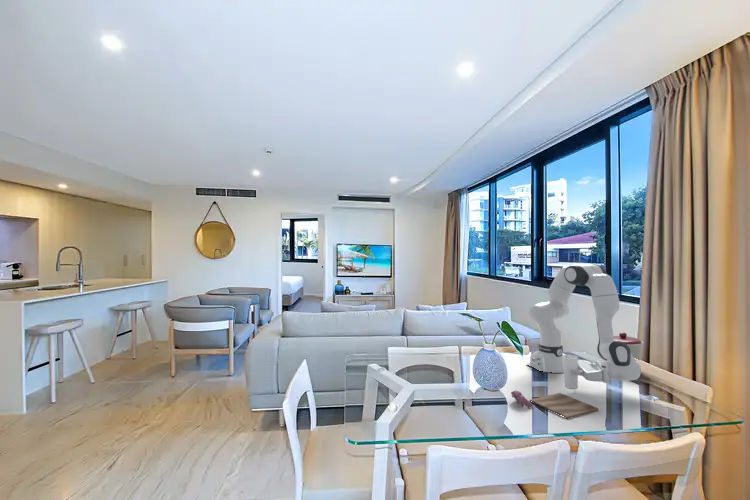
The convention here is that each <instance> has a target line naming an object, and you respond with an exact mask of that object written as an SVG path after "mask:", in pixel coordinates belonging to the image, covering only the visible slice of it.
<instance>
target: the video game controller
mask: <svg viewBox="0 0 750 500" xmlns="http://www.w3.org/2000/svg"><path fill="white" fill-rule="evenodd" d="M510 394H511V395H510V396H511V398H513V399H514V400H515V401H516V402H517V404H519V405H520V406H521V405H523V406H525V407H527V408H529V407H531V408H532V407H533V403H531V402H530V400H528V399H527V398H526V397H525V396H524V395H523V394H522V392H521V391H519V390H516V389H515V390H513V391H510Z"/></svg>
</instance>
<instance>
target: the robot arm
mask: <svg viewBox="0 0 750 500" xmlns="http://www.w3.org/2000/svg"><path fill="white" fill-rule="evenodd" d="M555 275H556V276H554V278H553V281H552V282H551V284H550V287H549V288H548V291H547V293H548V295H549V299H548V300H547V301H544V302H543V301H542V302H537V303H536V304H533V305H532V306H531V305H530V307H529V311H528V313H529V317H530V319H531V320H532V321H534V322H535V324H536V326H537V329H538V331H539V339H540V344H538V345H536V347H537V348H538V350H536V351H535V352H533V353H532V354H531V355H530V357H529V359H530V360H529V361H528V362H530V363H528V362H526V363H527V364H528V365H530V366H532V367H534V368H536V369H537V370H539V371H543V372H542V373H550V372H552V373H553V374H554V373H555V374H557V373H558V374H559V373H560V374H561V373H564V372H563V365H562V356H563V355H564V354H563V353H564V351H563V350H564V347H563V344H562V333H561V332H562V331H561V330H560V329H559V328H557V327H556V325H555V321H558V320H562V319H564V318H566V317H567V316H568V315H569V313H570V309H569V306H568V301H569V299H570V298H571V295H572V294H573V291H574V290H575V288H576V286H579V287H584V286H586V287H588V288H589V290H590V295H591V299H592V303H593V308H594V313H595V317H596V325H597V334H598V343H597V348H596V350H597V351H596V352H597V354H598V356H599V357H600V358H601V360H600V359H599V360H598V359H595V360H593V362H591V361H589V360H583V359H578V370H571V374H576V375H578V376H580V377H582V378H583V379H585V380H586V381H589V382H598V383H599V382H602V383H604V384H608V383H609V381H612V380H617V381H636V380H637V379H639V378H640V377H641V374H642V368H641V366H640V365H639V363H637V362H636V360H635V359H634V358H633V356H632V354H631V351H630V348H629V346H628V345H627V344H626V343H624V342H622V341H615V340H614V336H615V335H614V330H613V318H614V317H615V316H616V314H617V313H618V311H619V310H620V298H619V294H618V289H617V286H616V284H615V282H614V280H613V278H612V277H611V275H609V274H608V273H607V270H606V269H605V267H604V266H602V265H600V264H591V263H581V264H580V263H579V264H577V263H576V264H571V265H564V266H563V267H561V269H559V271H558V272H557V273H556V274H555ZM537 370H536V371H537ZM539 371H538V372H539ZM552 373H551V374H552Z"/></svg>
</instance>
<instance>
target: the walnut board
mask: <svg viewBox="0 0 750 500" xmlns="http://www.w3.org/2000/svg"><path fill="white" fill-rule="evenodd" d="M529 401H532V402H534V403H537V404H538V405H540V406H542V407H544V408H546V409H547V411H548V410H550V411H549V412H551V411H552V412H551V413H553V412H555V413H557V414H559V415H562V416H564V417H566V418H570V419H572V418H571V417H573V418H577V417H580V416H581V417H582V416H584V415H585V416H586V415H588V414H591V413H595V412H600V411H599V410H600V409H599V407H597V406H594V405H591V404H589V403H587V402H584V401H581V400H579V399H577V398H574V397H572V396H569V395H566V394H564V393H561V392H557V393H552V394H549V395H545V396H540V397H536V398H531V399H529ZM534 403H533V404H534ZM538 405H537V406H538ZM540 406H539V407H540ZM542 407H541V408H542ZM544 408H543V409H544ZM546 409H545V410H546ZM555 413H554V414H555ZM557 414H556V415H557ZM559 415H558V416H559Z"/></svg>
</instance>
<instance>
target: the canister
mask: <svg viewBox="0 0 750 500" xmlns="http://www.w3.org/2000/svg"><path fill="white" fill-rule="evenodd" d="M627 335H628V334H627V333H626V332H620V333H619V334H618V335H613V336H614V340H615V341H622V342H624V343H626V344H627V345H628V346H629V348H630V351H631V354H632V356H633V358H636V359H638V360H641V361H642V351H643V345H644V341H643V340H641V339H639V338H638V337H633V336H627Z"/></svg>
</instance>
